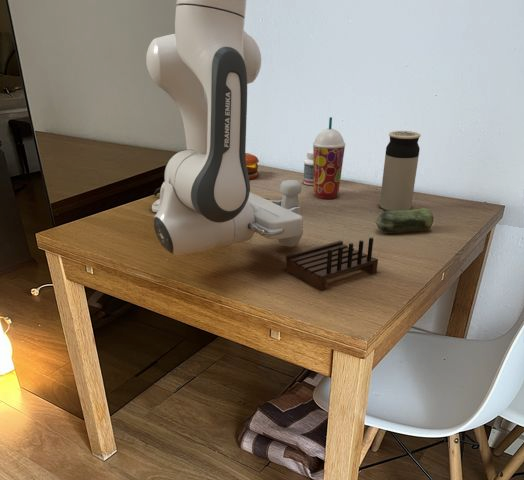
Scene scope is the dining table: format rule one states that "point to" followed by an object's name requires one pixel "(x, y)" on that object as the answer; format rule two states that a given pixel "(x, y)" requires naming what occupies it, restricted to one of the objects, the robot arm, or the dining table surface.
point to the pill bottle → (309, 169)
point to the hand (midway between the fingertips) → (293, 207)
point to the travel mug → (399, 170)
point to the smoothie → (328, 162)
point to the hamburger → (251, 165)
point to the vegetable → (405, 220)
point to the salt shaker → (289, 200)
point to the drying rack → (330, 262)
